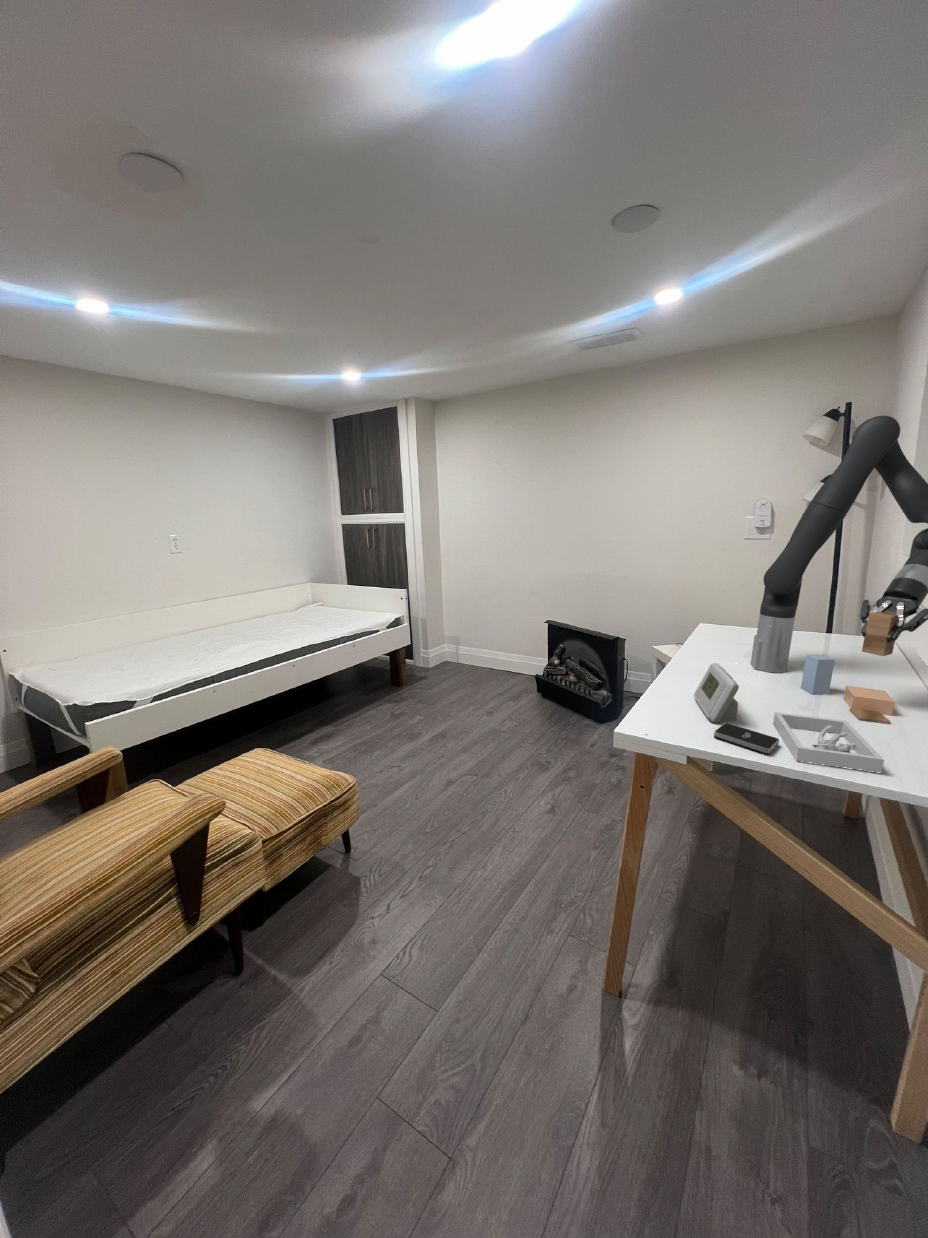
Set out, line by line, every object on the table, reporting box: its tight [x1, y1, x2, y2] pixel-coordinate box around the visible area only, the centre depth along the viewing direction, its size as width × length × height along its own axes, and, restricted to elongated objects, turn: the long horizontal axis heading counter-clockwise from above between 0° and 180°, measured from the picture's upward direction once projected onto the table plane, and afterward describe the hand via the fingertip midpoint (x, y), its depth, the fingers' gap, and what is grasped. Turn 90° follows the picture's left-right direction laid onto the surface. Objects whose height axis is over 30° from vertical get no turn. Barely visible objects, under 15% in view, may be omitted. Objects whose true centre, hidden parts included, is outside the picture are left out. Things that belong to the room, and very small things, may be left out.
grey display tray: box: [772, 711, 885, 773], centre depth 103 cm, size 14×18×3 cm
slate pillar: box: [800, 654, 836, 696], centre depth 132 cm, size 4×4×10 cm
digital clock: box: [693, 662, 740, 723], centre depth 119 cm, size 16×9×11 cm, turn 157°
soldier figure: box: [812, 725, 855, 752], centre depth 99 cm, size 8×5×12 cm
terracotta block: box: [843, 685, 896, 717], centre depth 123 cm, size 8×8×4 cm
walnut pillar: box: [861, 611, 899, 657], centre depth 120 cm, size 4×4×10 cm
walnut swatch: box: [849, 707, 891, 725], centre depth 117 cm, size 6×6×1 cm
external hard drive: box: [713, 722, 780, 757], centre depth 105 cm, size 7×11×2 cm, turn 43°
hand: (876, 637), depth 120 cm, fingers closed on walnut pillar, 4 cm apart
